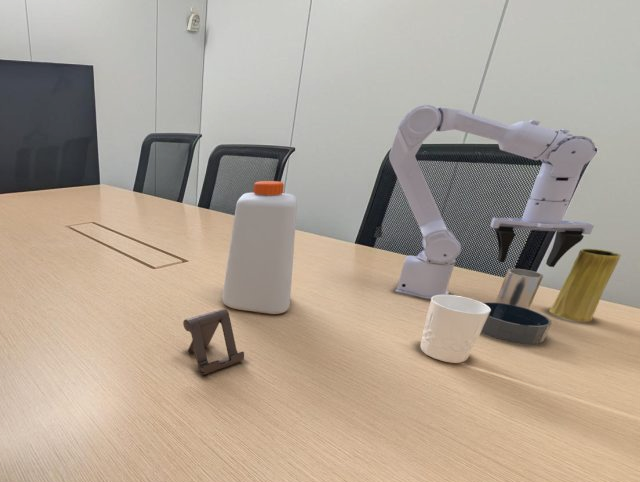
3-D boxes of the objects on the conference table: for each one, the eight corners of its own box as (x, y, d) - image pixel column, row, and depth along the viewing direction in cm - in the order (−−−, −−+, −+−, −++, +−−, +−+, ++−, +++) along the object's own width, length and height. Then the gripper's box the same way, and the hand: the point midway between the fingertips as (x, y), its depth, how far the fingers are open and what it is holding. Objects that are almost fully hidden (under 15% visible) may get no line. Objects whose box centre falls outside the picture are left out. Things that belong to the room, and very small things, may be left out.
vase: (600, 323, 76) (635, 257, 71) (564, 321, 78) (595, 256, 72) (573, 310, 82) (604, 248, 76) (540, 309, 83) (568, 247, 78)
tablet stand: (204, 377, 63) (206, 334, 60) (177, 355, 69) (178, 315, 66) (243, 363, 67) (248, 321, 63) (214, 343, 73) (217, 304, 70)
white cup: (459, 345, 70) (477, 297, 66) (480, 368, 63) (501, 316, 59) (409, 339, 73) (424, 292, 69) (424, 361, 66) (441, 310, 62)
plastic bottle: (218, 309, 87) (228, 186, 77) (228, 286, 100) (237, 178, 89) (288, 318, 82) (308, 187, 71) (289, 293, 95) (306, 178, 84)
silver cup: (491, 311, 83) (506, 272, 79) (494, 303, 86) (508, 266, 83) (526, 318, 79) (543, 279, 76) (527, 310, 83) (543, 272, 79)
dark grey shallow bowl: (464, 331, 75) (471, 313, 73) (472, 314, 82) (478, 297, 80) (542, 352, 68) (551, 332, 66) (543, 331, 74) (551, 313, 73)
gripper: (505, 200, 76) (484, 263, 81) (612, 204, 69) (581, 273, 74) (497, 195, 82) (477, 255, 87) (595, 198, 74) (567, 263, 79)
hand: (524, 263), depth 81 cm, fingers open, 7 cm apart
